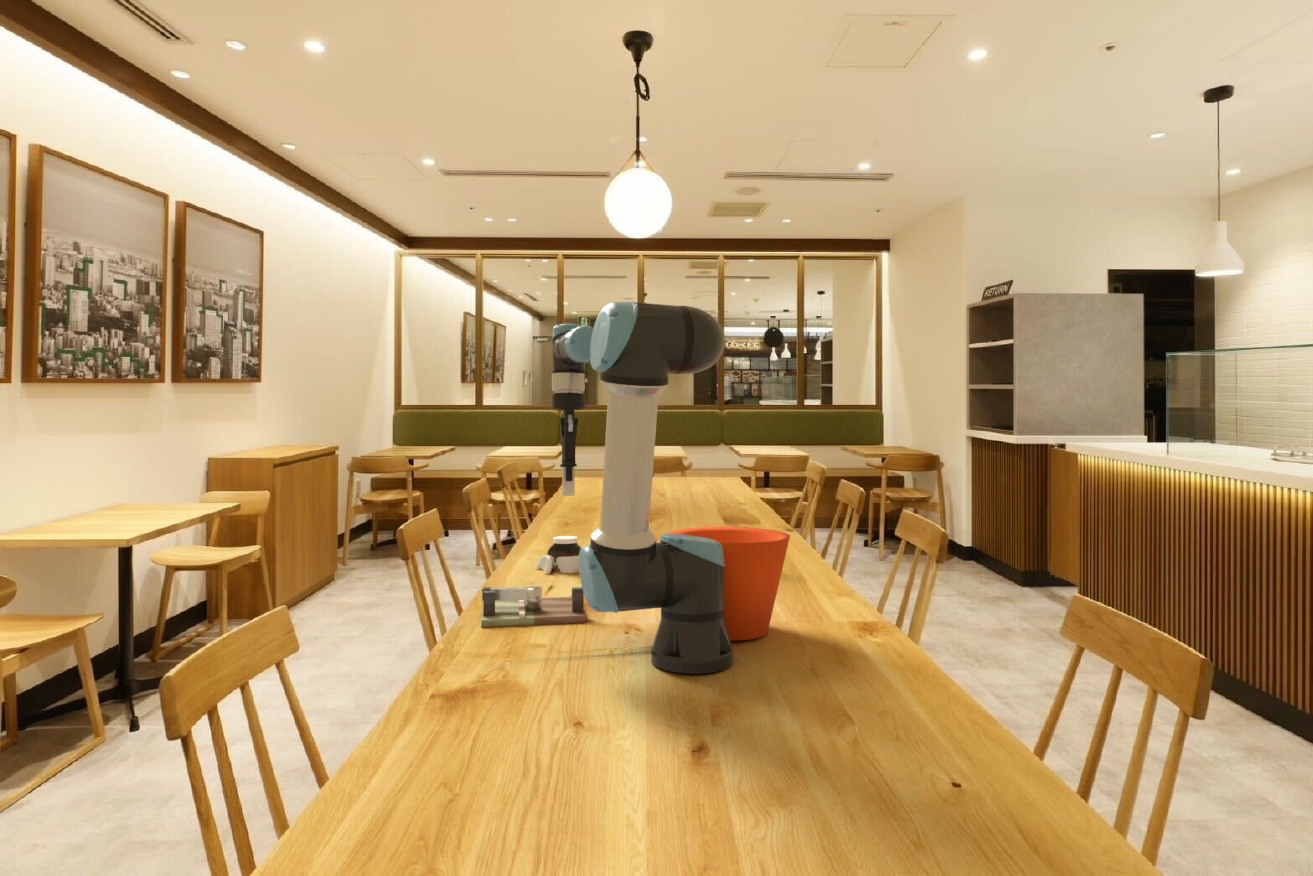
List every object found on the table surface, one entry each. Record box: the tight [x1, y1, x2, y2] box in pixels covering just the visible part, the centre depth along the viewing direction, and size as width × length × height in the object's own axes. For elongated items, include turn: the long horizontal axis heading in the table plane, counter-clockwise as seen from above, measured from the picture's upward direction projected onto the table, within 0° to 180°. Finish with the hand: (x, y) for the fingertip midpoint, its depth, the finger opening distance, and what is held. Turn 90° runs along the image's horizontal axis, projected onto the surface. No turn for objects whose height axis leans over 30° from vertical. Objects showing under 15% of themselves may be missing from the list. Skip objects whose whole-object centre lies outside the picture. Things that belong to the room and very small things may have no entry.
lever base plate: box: [480, 586, 587, 628], centre depth 167 cm, size 19×22×6 cm
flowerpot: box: [668, 526, 791, 641], centre depth 154 cm, size 25×25×20 cm
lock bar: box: [481, 585, 543, 611], centre depth 164 cm, size 13×4×5 cm, turn 93°
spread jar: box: [535, 535, 582, 575], centre depth 208 cm, size 12×11×12 cm
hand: (568, 495), depth 171 cm, fingers closed
